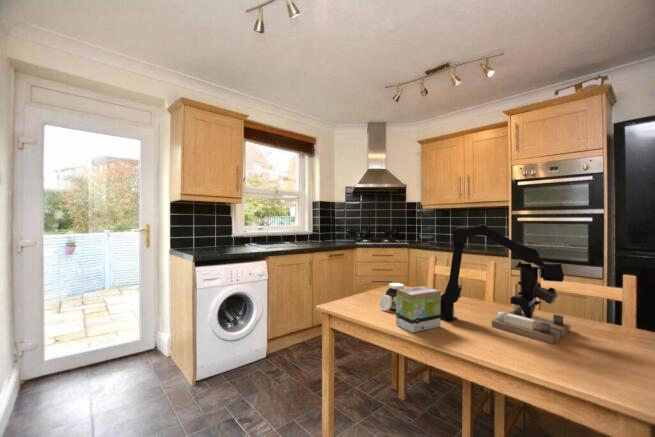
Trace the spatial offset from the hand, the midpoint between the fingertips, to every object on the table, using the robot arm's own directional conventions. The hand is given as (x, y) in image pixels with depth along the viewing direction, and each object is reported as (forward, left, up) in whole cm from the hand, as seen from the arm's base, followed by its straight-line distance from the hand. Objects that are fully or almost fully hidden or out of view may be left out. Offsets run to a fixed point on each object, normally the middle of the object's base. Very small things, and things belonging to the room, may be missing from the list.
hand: (529, 319), depth 113 cm
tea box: (-31, +28, -4) cm, 42 cm away
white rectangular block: (-5, +3, -1) cm, 6 cm away
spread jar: (-23, +48, -4) cm, 54 cm away
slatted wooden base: (+2, 0, -4) cm, 4 cm away
